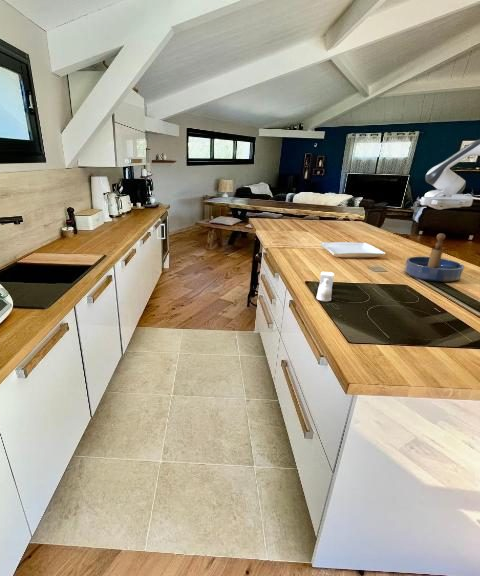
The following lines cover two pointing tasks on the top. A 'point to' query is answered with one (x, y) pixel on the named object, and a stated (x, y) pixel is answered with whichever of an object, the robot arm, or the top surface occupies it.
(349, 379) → the top surface
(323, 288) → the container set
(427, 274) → the bowl
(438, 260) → the mortar and pestle
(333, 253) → the square plate
